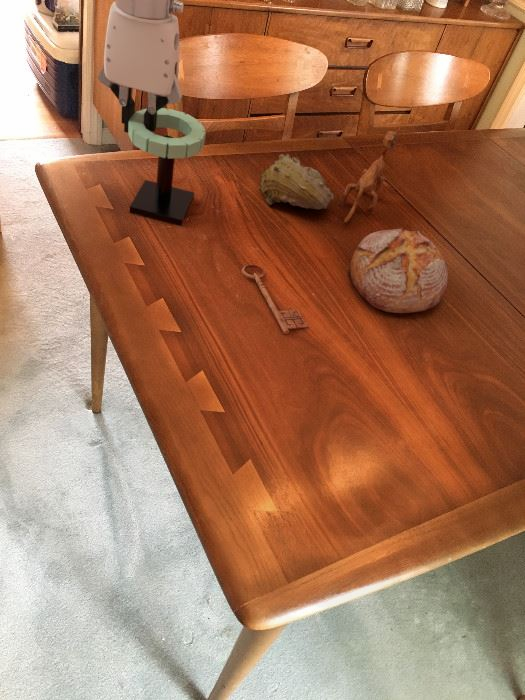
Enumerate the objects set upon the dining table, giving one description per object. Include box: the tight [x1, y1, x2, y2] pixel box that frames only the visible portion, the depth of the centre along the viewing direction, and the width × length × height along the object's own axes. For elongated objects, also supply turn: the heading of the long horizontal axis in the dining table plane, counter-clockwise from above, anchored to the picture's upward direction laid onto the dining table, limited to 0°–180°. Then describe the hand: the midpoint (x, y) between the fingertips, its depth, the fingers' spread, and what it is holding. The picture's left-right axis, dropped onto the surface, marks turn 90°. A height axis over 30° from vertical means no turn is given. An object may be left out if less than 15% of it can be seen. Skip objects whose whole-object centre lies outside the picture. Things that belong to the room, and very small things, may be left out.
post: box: [129, 135, 195, 226], centre depth 92 cm, size 9×9×12 cm
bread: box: [349, 227, 449, 314], centre depth 92 cm, size 16×20×10 cm
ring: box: [127, 107, 207, 159], centre depth 87 cm, size 12×12×2 cm
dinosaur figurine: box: [342, 127, 401, 224], centre depth 105 cm, size 18×7×14 cm, turn 154°
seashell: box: [258, 153, 335, 211], centre depth 103 cm, size 11×14×10 cm
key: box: [241, 264, 308, 335], centre depth 86 cm, size 6×1×15 cm
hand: (138, 130), depth 88 cm, fingers closed on ring, 2 cm apart
